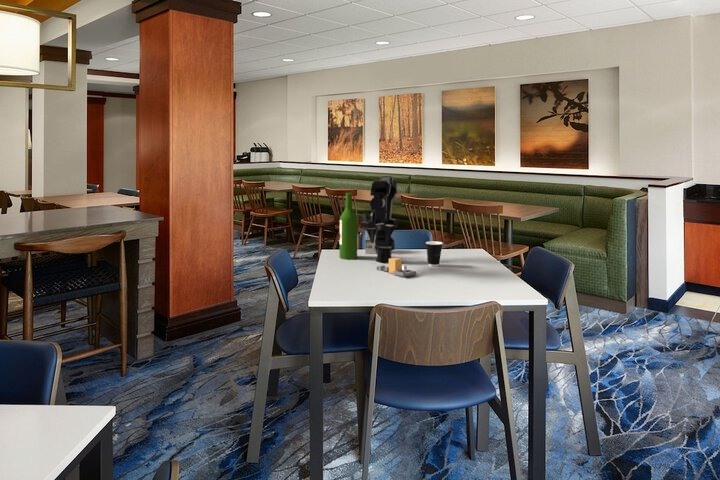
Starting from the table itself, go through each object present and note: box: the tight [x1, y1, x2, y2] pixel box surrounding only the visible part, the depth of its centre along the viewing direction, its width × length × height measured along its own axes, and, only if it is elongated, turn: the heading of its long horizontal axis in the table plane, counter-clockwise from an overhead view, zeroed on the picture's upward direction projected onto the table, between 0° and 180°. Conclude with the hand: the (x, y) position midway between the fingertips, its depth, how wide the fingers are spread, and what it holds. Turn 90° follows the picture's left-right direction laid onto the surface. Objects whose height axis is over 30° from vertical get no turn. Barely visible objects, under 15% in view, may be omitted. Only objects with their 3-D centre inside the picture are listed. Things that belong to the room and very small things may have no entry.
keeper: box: [394, 264, 415, 279], centre depth 223 cm, size 6×6×5 cm
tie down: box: [376, 257, 417, 276], centre depth 228 cm, size 20×7×6 cm, turn 41°
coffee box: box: [364, 225, 381, 255], centre depth 276 cm, size 9×6×16 cm
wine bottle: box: [338, 192, 359, 260], centre depth 258 cm, size 9×9×32 cm
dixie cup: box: [425, 240, 444, 268], centre depth 244 cm, size 8×8×11 cm
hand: (379, 242), depth 236 cm, fingers open, 9 cm apart
